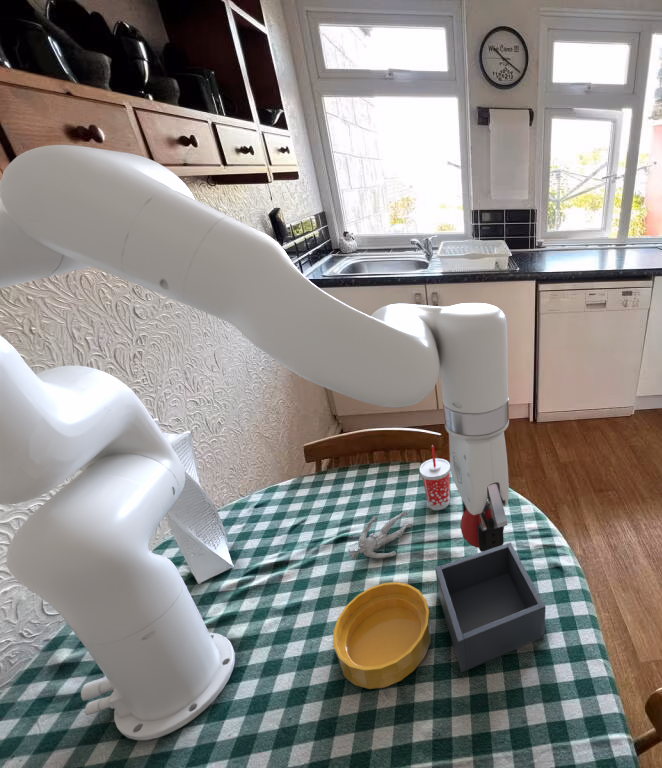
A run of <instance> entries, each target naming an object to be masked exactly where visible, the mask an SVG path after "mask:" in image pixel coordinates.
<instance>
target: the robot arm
mask: <svg viewBox="0 0 662 768" xmlns="http://www.w3.org/2000/svg"><path fill="white" fill-rule="evenodd" d="M88 268H95V269H97V270H99V271H102V272H104V273H107V274H109V275H112V276H114V277H116V278H119V279H121V280H124V281H127V282H129V283H131V284H134V285H137V286H140V287H142V288H144V289H147V290H149V291H151V292H155V293H157V294H159V295H162V296H163V297H167V298H169V299H171V300H174V301H176V302H179V303H182V304H183V305H187V306H188V307H191V308H193V309H195V310H198V311H201V312H204V313H206V314H208V315H211V316H213V317H215V318H218V319H220V320H222V321H224V322H227V323H228V324H230V325H232V326H233V327H234V328H236V329H237V330H238V331H239V332H240V333H241V334H242V335H243V336H244V337H245V338H246V339H247V340H248V341H249V342H250V343H251V344H253V345H254V346H255V347H257V348H258V349H260V350H261V351H262V352H263V353H265V354H266V355H268V357H270V358H272V360H274V361H275V362H277V363H278V364H279V365H281V366H282V367H284V368H285V369H287V370H288V371H290V372H292V373H293V374H295V375H297V376H299V377H300V378H302V379H304V380H306V381H308V382H310V383H312V384H315V385H317V386H320V387H323V388H325V389H327V390H330V391H333V392H336V393H338V394H341V395H343V396H346V397H348V398H351V399H354V400H357V401H359V402H363V403H366V404H369V405H372V406H373V405H374V406H377V407H384V408H390V409H399V408H401V409H402V408H407V407H411V406H413V405H416V404H418V403H421V402H422V401H423V400H425V399H426V398H427V397H428V396H429V395H430V394H431V393H432V391H433V390H434V388H435V387H436V384H437V382H438V380H439V378H440V388H441V399H442V410H443V411H442V412H443V421H444V429H445V432H447V433H448V448H449V449H448V451H449V452H448V453H449V463H450V475H451V477H452V481H453V482H454V484H455V487H456V489H457V491H458V493H459V495H460V499H461V500H462V511H463V513H464V512H465V510H466V509H467V510H468V511H469V512H470V513H471V514H472V515H476V514H478V515H479V521H480V525H479V526H477V528H478V544H479V548H478V550H479V551H480V552H483V551H486V550H489V549H492V548H495V547H498V546H501V545H504V543H505V542H504V541H505V540H504V530H503V526H504V527H506V526H508V519H507V516H506V511H505V508H504V507H506V506H507V504H508V502H509V496H510V495H509V494H510V493H509V492H510V483H509V481H510V479H509V467H508V453H507V447H506V439H505V437H506V436H505V431H506V430H507V429H508V427H509V424H510V415H509V414H510V413H509V412H510V411H509V409H510V407H509V359H508V358H509V357H508V356H509V355H508V354H509V353H508V351H509V349H508V347H509V346H508V320H507V317H506V314H505V313H504V312H503V310H502V309H501V308H500V307H498V306H496V305H492V304H489V303H484V302H465V303H458V304H453V305H450V306H436V305H423V304H412V303H411V304H410V303H394V304H387V305H385V306H382V307H379V308H378V309H377V310H375V311H374V312H372V314H371V315H368V314H366V313H364V312H362V311H361V310H357V309H356V308H354V307H352V306H350V305H348V304H347V303H344V302H343V301H341V300H340V299H338V298H336V297H334V296H332V295H330V294H329V293H327V292H325V291H324V290H323V289H321V288H320V287H318V286H317V285H316V284H314V283H313V282H312V281H311V280H309V278H307V277H306V276H305V275H304V274H303V273H301V271H300V270H299V269H298V267H296V265H295V264H294V263H293V262H292V260H291V258H290V257H289V255H288V254H287V252H286V251H285V249H284V248H283V247H282V246H281V245H280V244H279V242H277V240H276V239H274V238H272V237H271V236H270V235H268V234H266V233H264V232H262V231H260V230H259V229H257V228H254V227H253V226H250V225H248V224H246V223H243V222H241V221H239V220H237V219H236V218H234V217H232V216H230V215H228V214H225V213H223V212H222V211H220V210H217V209H215V208H213V207H212V206H209V205H208V204H205V203H203V202H202V201H199V200H198V199H195V197H194V195H193V193H192V192H191V190H190V188H188V186H187V185H186V183H184V182H183V180H182V179H181V178H180V177H179V176H178V175H177V174H175V173H174V172H173V171H172V170H170V169H169V168H167V167H165V166H164V165H162V164H161V163H159V162H157V161H155V160H152V159H151V158H148V157H145V156H142V155H138V154H135V153H131V152H125V151H124V152H123V151H118V150H110V149H103V148H97V147H90V146H82V145H76V144H75V145H73V144H50V145H43V146H38V147H34V148H32V149H29V150H26V151H24V152H22V153H21V154H19V155H18V156H16V157H15V158H14V159H12V161H11V162H10V163H8V165H7V166H6V167H5V169H4V170H3V172H2V176H1V178H0V290H1V289H4V288H9V287H13V286H16V285H17V286H18V285H21V284H25V283H30V282H35V281H38V280H39V281H40V280H44V279H47V278H51V277H56V276H58V275H63V274H67V273H71V272H76V271H79V270H84V269H88ZM153 419H154V418H153V417H152V415H151V414H150V412H149V411H148V409H147V408H146V406H145V405H144V403H143V402H142V401H141V400H140V398H139V396H138V395H137V394H136V393H135V392H134V391H133V390H132V389H131V387H129V386H128V385H126V383H124V382H123V381H121V380H120V379H118V378H117V377H115V376H113V375H112V374H110V373H108V372H106V371H103V370H101V369H98V368H94V367H91V366H84V365H73V364H72V365H60V366H56V367H51V368H48V369H44V370H42V371H40V372H38V373H35V372H34V371H33V370H32V368H31V367H30V366H29V365H28V364H27V363H26V361H25V359H24V358H23V357H22V356H21V354H20V353H19V352H18V350H17V349H16V348H15V347H14V346H13V345H12V344H11V343H10V342H9V341H8V340H7V339H6V338H5V337H3V336H2V335H0V505H4V506H7V505H17V504H21V503H25V502H29V501H32V500H35V499H37V498H39V497H41V496H43V495H45V494H48V493H49V492H51V491H52V490H54V489H56V488H57V487H58V486H60V485H61V484H63V483H64V482H66V481H67V480H68V479H69V478H71V477H73V475H75V474H76V473H77V472H78V471H79V470H82V471H81V472H79V474H77V475H76V476H75V477H74V478H73V479H72V480H70V481H69V482H67V483H66V484H65V485H64V486H62V488H60V489H59V490H58V491H56V493H55V494H53V496H51V497H50V498H49V499H47V501H45V502H44V503H43V504H42V505H41V506H40V507H38V508H37V509H36V510H35V511H34V512H33V513H32V514H31V515H30V516H28V518H27V519H26V520H25V521H24V522H23V523H22V524H21V526H20V527H19V528H18V529H17V530H16V532H15V534H14V536H13V537H12V539H11V540H10V542H9V544H8V547H7V551H6V557H5V559H6V560H5V561H6V566H7V570H8V571H9V573H10V574H11V575H12V577H14V579H15V580H16V581H18V583H20V584H21V585H23V586H24V587H25V588H27V589H28V590H30V591H31V592H32V593H34V594H35V595H36V596H38V597H40V598H41V599H42V600H44V601H45V602H46V603H47V604H48V605H50V606H51V607H52V608H53V609H54V610H55V611H56V613H58V614H59V615H60V616H61V618H62V619H63V620H64V621H65V623H66V624H67V625H68V626H69V628H70V629H71V631H72V632H73V633H74V635H75V636H76V638H77V639H78V640H79V641H80V643H81V644H82V645H83V646H84V648H85V649H86V651H87V652H88V654H89V655H90V656H91V658H92V659H93V661H94V662H95V663H96V665H97V666H98V668H99V669H100V671H102V673H103V675H104V677H100V678H98V679H95V680H91V681H89V682H86V683H84V684H83V686H82V687H81V690H80V698H81V700H82V701H83V702H86V701H88V702H87V703H86V705H85V709H84V713H85V716H90V715H94V714H96V713H100V712H102V711H103V710H106V709H108V708H110V709H111V710H114V711H113V716H114V717H113V718H114V723H115V726H116V728H117V730H118V731H119V732H120V733H121V735H122V736H125V738H127V739H131V740H134V741H150V740H153V739H159V738H161V737H163V736H166V735H169V734H171V733H173V732H175V731H177V730H178V729H181V728H182V727H184V726H186V725H187V724H189V723H190V722H192V721H193V720H194V719H196V718H197V717H198V716H200V714H202V713H203V712H204V711H205V710H206V709H208V707H209V706H210V705H211V704H212V703H213V702H214V701H215V700H216V699H217V697H218V696H219V695H220V694H221V693H222V691H223V690H224V689H225V687H226V685H227V683H228V682H229V680H230V678H231V676H232V673H233V670H234V667H235V663H236V652H235V650H234V649H235V648H234V647H233V645H232V642H231V641H230V639H228V638H227V637H226V636H224V635H222V634H220V633H217V632H216V633H215V632H210V631H209V630H208V628H207V625H206V623H205V621H204V619H203V617H202V615H201V613H200V611H199V609H198V607H197V605H196V602H195V601H194V599H193V597H192V595H191V593H190V591H189V589H188V587H187V585H186V583H185V581H184V579H183V577H182V576H181V574H180V572H179V570H178V568H177V566H176V565H175V564H174V563H173V561H171V560H170V559H169V557H166V556H164V555H161V554H157V553H154V552H152V550H150V547H149V542H150V540H151V537H152V535H153V533H155V532H156V529H157V528H159V526H160V524H161V522H162V520H163V519H164V517H166V516H165V515H166V513H167V512H168V511H169V509H170V508H171V507H172V505H173V504H174V503H175V501H176V500H177V498H178V497H179V495H180V494H181V492H182V490H183V487H184V484H185V471H184V468H183V465H182V463H181V461H180V459H179V457H178V456H177V454H176V453H175V451H174V450H173V448H172V447H171V445H170V444H169V442H168V441H167V439H166V438H165V436H164V435H163V433H164V432H163V431H162V430H161V429H160V426H159V427H158V426H157V424H156V423H155V421H154V420H153ZM487 501H488V502H487ZM489 509H491V512H492V518H490V519H487V520H486V519H485V513H484V511H486V510H489ZM110 692H111V694H110V695H108V696H105V697H101V698H98V699H94V698H97V697H100V696H103V695H105V694H107V693H110ZM92 699H94V700H92ZM89 700H92V701H89Z"/></svg>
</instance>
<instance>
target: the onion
mask: <svg viewBox="0 0 662 768" xmlns="http://www.w3.org/2000/svg"><path fill="white" fill-rule="evenodd" d="M487 502H488V500H487ZM484 513H485V519H486V520H487V519H490V518H492V512H491V509H489V510H486V511H484ZM479 525H480V521H479V515H478V514H476V515H472V514H471V513H470V512H469V511H468V510H467V509H466V510H465V512H463V513H462V516H461V520H460V532H461V535H462V537H463V539H465V541H466V542H467V543H468V544H469V545H470V546H472V547H473V548H476V549H479V544H478V528H477V526H479ZM504 529H505V526H503V531H504Z"/></svg>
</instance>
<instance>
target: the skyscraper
mask: <svg viewBox="0 0 662 768" xmlns="http://www.w3.org/2000/svg"><path fill="white" fill-rule="evenodd" d="M153 420H154V421H155V423H156V424H157V426H158V427H159V428H160V421H159V418H157V417H156V418H153ZM162 433H163V435H164V436H165V438H166V439H167V441H168V442H169V444H170V445H171V447H172V448H173V450H174V451H175V453H176V454H177V456H178V457H179V459H180V461H181V463H182V465H183V468H184V471H185V484H184V487H183V490H182V492H181V494H180V495H179V497H178V498H177V500H176V501H175V503H174V504H173V505H172V507H171V508H170V509H169V511H168V512H167V513H166V515H165V516H164V517H165V518H166V521H167V523H168V527H169V529H170V531H171V533H172V536H173V538H174V540H175V542H176V544H177V547H178V549H179V550H180V552H181V555H182V556H183V558H184V560H185V563H186V564H187V566H188V568H189V569H190V571H191V573H192V575H193V577H194V579H195V580H196V583H197V584H198V585H200V584H202V583H203V582H205V581H208V580H210V579H211V578H213V577H216V576H218V575H220V574H222V573H224V572H226V571H228V570H231V569H234V568H235V565H234V564H233V561H232V558H231V555H230V552H229V550H230V546H229V541H228V538H227V534H226V533H227V532H226V530H225V527H224V524H223V521H222V519H221V516H220V514H219V512H218V509H217V508H216V506H215V504H214V503H213V501H212V499H211V498H210V497H209V495H208V494H207V493H206V491H205V490H204V488H203V487H202V486H201V482H200V477H199V469H198V468H199V467H198V462H197V456H196V451H195V446H194V442H193V437H192V433H191V431H190V430H185V431H184V432H183V431H182V433H169V432H162Z"/></svg>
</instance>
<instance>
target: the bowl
mask: <svg viewBox="0 0 662 768" xmlns="http://www.w3.org/2000/svg"><path fill="white" fill-rule="evenodd" d="M428 605H429V604H428V602H427V599H426V597H425V596H424V595H423V593H422V592H421V591H420V590H419V589H417V588H416V587H414V586H412V585H411V584H409V583H408V584H407V583H404V582H399V581H395V582H392V581H391V582H383V583H379V584H377V585H374V586H370V587H368V588H367V589H365V590H363V591H362V592H360V593H358V594H357V595H356V596H355V597H354V598H353V599H352V600H350V602H349V603H347V604H346V605H345V607H344V608H343V609H342V611H341V612H340V614H339V616H338V617H337V619H336V623H335V625H334V627H333V631H332V641H333V642H332V645H333V646H332V647H333V650H334V653H335V656H336V659H337V663H338V666H339V668H340V670H341V672H342V674H343V676H344V678H346V679H347V680H348V681H349V682H350V683H352V684H353V685H354V686H357V687H360V688H363V689H364V688H365V689H366V690H367V689H368V690H372V689H373V690H374V689H382V688H383V689H384V688H386V687H390V686H391V685H394V684H396V683H398V682H401V681H402V680H404V679H405V678H406V677H408V676H409V675H410V674H412V673H413V672H414V671H415V670H416V669H417V668H418V666H419V665H420V663H422V661H423V660H424V658H425V657H426V654H427V652H428V649H429V648H430V644H431V640H432V631H433V630H432V622H431V615H430V610H429V606H428Z"/></svg>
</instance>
